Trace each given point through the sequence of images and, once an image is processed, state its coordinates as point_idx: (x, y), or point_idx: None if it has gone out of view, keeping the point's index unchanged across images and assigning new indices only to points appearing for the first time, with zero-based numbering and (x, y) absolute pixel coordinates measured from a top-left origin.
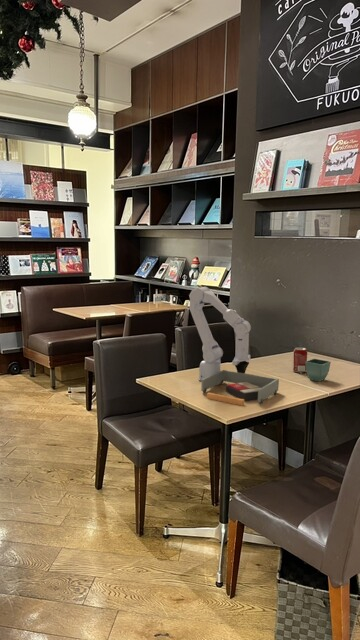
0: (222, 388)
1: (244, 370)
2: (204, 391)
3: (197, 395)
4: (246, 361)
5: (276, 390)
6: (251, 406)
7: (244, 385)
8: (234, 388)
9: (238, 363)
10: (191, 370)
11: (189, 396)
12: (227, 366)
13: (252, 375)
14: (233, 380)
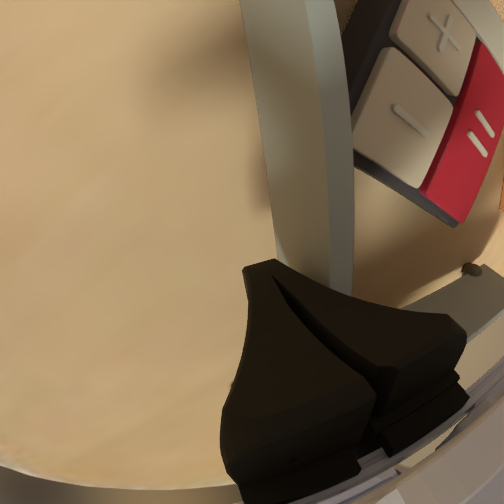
0: (394, 264)
1: (309, 305)
2: (475, 264)
3: (491, 254)
4: (237, 482)
5: None
6: (495, 5)
7: (447, 99)
8: (495, 136)
9: (484, 375)
10: (216, 484)
11: (499, 262)
12: (47, 467)
13: (344, 94)
14: None
